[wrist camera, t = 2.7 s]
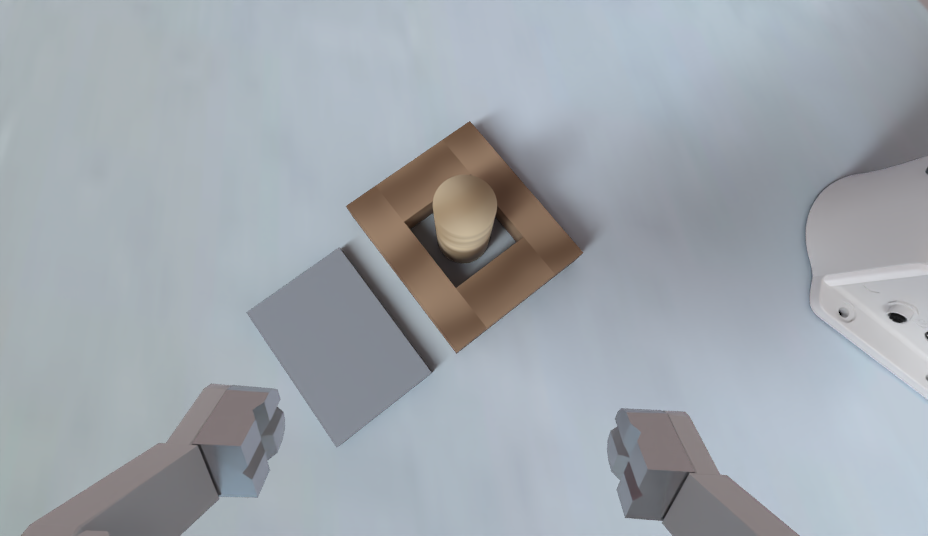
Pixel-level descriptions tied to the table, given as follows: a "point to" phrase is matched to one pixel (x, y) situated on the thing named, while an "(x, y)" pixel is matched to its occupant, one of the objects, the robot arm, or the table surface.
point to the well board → (497, 283)
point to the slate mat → (338, 345)
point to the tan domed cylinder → (464, 217)
